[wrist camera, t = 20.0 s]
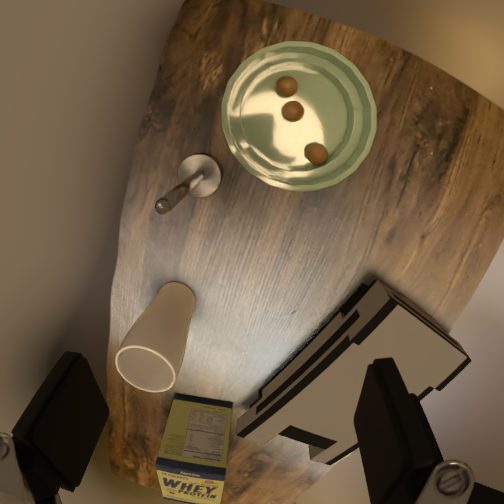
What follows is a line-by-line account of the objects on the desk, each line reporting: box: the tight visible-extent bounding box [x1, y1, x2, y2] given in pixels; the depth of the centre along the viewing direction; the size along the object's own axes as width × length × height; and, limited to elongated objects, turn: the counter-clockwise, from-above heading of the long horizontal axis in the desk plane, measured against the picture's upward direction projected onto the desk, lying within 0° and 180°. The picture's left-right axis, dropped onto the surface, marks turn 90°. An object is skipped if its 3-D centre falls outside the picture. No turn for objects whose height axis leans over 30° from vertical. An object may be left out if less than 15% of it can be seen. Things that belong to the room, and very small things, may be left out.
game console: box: [236, 279, 471, 465], centre depth 44 cm, size 21×32×8 cm, turn 146°
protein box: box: [155, 394, 233, 504], centre depth 47 cm, size 10×16×16 cm
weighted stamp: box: [155, 153, 223, 215], centre depth 29 cm, size 5×5×16 cm
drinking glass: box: [115, 282, 195, 392], centre depth 36 cm, size 7×7×15 cm
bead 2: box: [282, 101, 304, 122], centre depth 32 cm, size 2×2×2 cm
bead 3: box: [306, 143, 328, 165], centre depth 34 cm, size 2×2×2 cm
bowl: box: [221, 41, 377, 191], centre depth 31 cm, size 15×15×6 cm
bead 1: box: [276, 76, 298, 97], centre depth 31 cm, size 2×2×2 cm
